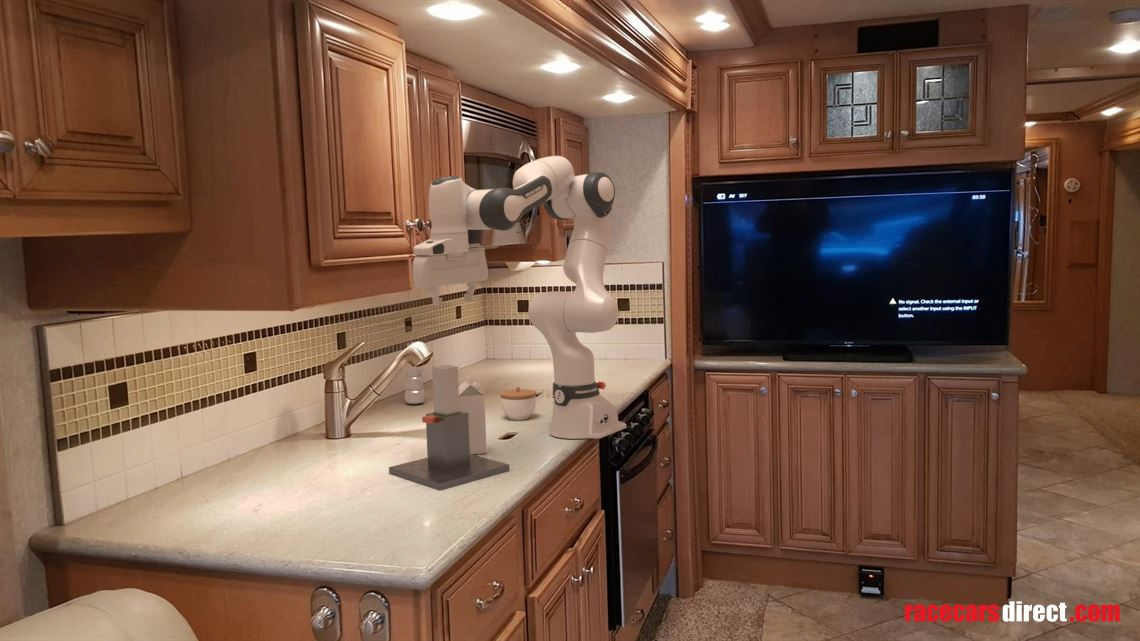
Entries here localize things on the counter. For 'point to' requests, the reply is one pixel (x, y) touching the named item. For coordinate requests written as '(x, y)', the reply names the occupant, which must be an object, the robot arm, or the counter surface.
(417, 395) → the plastic bottle
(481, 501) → the counter surface
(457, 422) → the jack base
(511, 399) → the lidded jar
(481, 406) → the milk carton
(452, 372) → the block
